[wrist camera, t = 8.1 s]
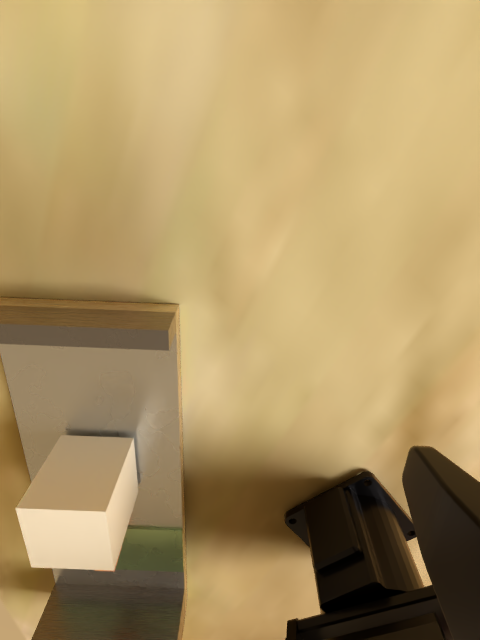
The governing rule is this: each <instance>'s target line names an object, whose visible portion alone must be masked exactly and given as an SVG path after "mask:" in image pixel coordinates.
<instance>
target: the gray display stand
mask: <svg viewBox="0 0 480 640" xmlns="http://www.w3.org/2000/svg"><path fill="white" fill-rule="evenodd" d="M0 354H1V358H2V362H3V367H4V371H5V375H6V379H7V383H8V387H9V392H10V396H11V400H12V404H13V408H14V412H15V417H16V421H17V425H18V429H19V433H20V437H21V442H22V446H23V450H24V454H25V458H26V462H27V467H28V471H29V475H30V479H31V483H32V481H33V479H34V478H35V476H36V475H37V473H38V471H39V470H40V468H41V467H42V465H43V463H44V462H45V460H46V459H47V457H48V455H49V454H50V452H51V451H52V449H53V447H54V446H55V444H56V443H57V441H58V439H59V438H60V436H61V435H71V436H96V437H122V438H134V448H135V459H136V470H137V481H138V494H137V498H136V501H135V504H134V507H133V511H132V514H131V517H130V520H129V524H128V527H127V530H126V533H125V537H124V540H123V543H122V549H121V552H120V555H119V559H118V562H117V565H116V568H115V572H114V571H95V570H86V569H60V568H52V571H53V575H54V579H55V583H56V584H55V586H54V588H53V591H52V593H51V595H50V598H49V600H48V602H47V605H46V607H45V609H44V612H43V614H42V616H41V619H40V621H39V623H38V625H37V628H36V630H35V632H34V635H33V637H32V639H31V640H182V636H183V629H184V621H185V613H186V605H187V576H186V540H185V504H184V468H183V432H182V396H181V361H180V325H179V304H154V303H129V302H104V301H79V300H54V299H29V298H5V297H0Z"/></svg>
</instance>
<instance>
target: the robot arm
mask: <svg viewBox="0 0 480 640" xmlns="http://www.w3.org/2000/svg"><path fill="white" fill-rule="evenodd" d="M365 480H368V481H365ZM402 482H403V487H404V491H405V495H406V499H407V502H408V506H409V510H410V514H411V517H412V519H411V518H410V517H409V516H408V515H407V513H406V512H405V511H404V510H403V509H402V507H401V506H400V505H399V504H398V503H397V502H396V500H395V499H394V498H393V497H392V496H391V494H390V493H389V492H388V491H387V490H386V489H385V487H384V486H383V485H382V484H381V483H380V481H379V480H378V479H377V478H376V477H375V476H374V474H372V473H371V472H363V473H361V474H359V475H357V476H355V477H353V478H351V479H349V480H347V481H345V482H343V483H341V484H339V485H338V486H336V487H334V488H332V489H330V490H328V491H326V492H324V493H322V494H320V495H318V496H316V497H315V498H313V499H311V500H309V501H307V502H305V503H303V504H301V505H299V506H297V507H295V508H293V509H292V510H290V511H288V512H286V513H285V515H284V516H285V523H286V525H287V526H288V527H289V528H290V529H291V530H292V531H293V532H294V533H295V534H297V535H298V536H299V537H300V538H301V539H302V540H303V541H304V542H305V543H306V544H307V545H308V546H309V547H310V551H311V557H312V564H313V568H314V573H315V580H316V586H317V592H318V599H319V605H320V611H321V614H320V615H316V616H312V617H308V618H304V619H300V620H298V619H297V618H296V619H292V620H288V621H287V637H286V639H285V640H480V482H479V481H477V480H476V479H475V478H473V477H472V476H471V475H469V474H468V473H467V472H465V471H464V470H463V469H461V468H460V467H458V466H457V465H456V464H454V463H453V462H452V461H450V460H449V459H448V458H446V457H445V456H444V455H442V454H441V453H440V452H438V451H437V450H436V449H434V448H433V447H430V446H412V447H411V448H410V450H409V453H408V456H407V460H406V464H405V467H404V471H403V476H402ZM292 518H293V519H292ZM415 537H417V540H418V544H419V547H420V551H421V554H422V558H423V560H424V563H425V566H426V569H427V572H428V574H429V577H430V580H431V582H432V585H430V586H427V587H424V585H423V582H422V580H421V577H420V575H419V572H418V570H417V567H416V565H415V562H414V560H413V557H412V554H411V552H410V549H409V547H408V544H407V541H409V540H411V539H413V538H415Z"/></svg>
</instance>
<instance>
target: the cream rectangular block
mask: <svg viewBox="0 0 480 640" xmlns="http://www.w3.org/2000/svg"><path fill="white" fill-rule="evenodd" d="M137 494H138V481H137V470H136V459H135V448H134V438H122V437H96V436H71V435H61V436H60V438H59V439H58V441H57V443H56V444H55V446H54V447H53V449H52V451H51V452H50V454H49V455H48V457H47V459H46V460H45V462H44V463H43V465H42V467H41V468H40V470H39V471H38V473H37V475H36V476H35V478H34V479H33V481H32V483H31V484H30V486H29V487H28V489H27V491H26V492H25V494H24V495H23V497H22V499H21V500H20V502H19V503H18V505H17V507H16V508H15V509H16V512H17V516H18V520H19V523H20V527H21V531H22V534H23V538H24V542H25V545H26V549H27V553H28V556H29V560H30V564H31V567H35V568H60V569H86V570H95V571H114V572H115V568H116V565H117V562H118V559H119V555H120V552H121V549H122V543H123V540H124V537H125V533H126V530H127V527H128V524H129V520H130V517H131V514H132V511H133V507H134V504H135V501H136V498H137Z"/></svg>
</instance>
